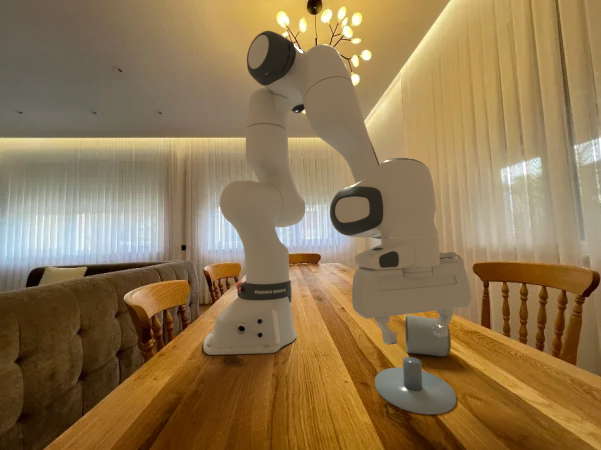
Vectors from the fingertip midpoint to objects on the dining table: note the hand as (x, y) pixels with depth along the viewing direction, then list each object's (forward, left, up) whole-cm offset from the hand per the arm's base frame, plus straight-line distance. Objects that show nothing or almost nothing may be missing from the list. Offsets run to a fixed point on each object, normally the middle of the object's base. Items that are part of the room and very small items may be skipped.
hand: (415, 339), depth 41 cm
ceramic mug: (+11, +12, -8) cm, 18 cm away
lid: (-1, +1, -8) cm, 8 cm away
